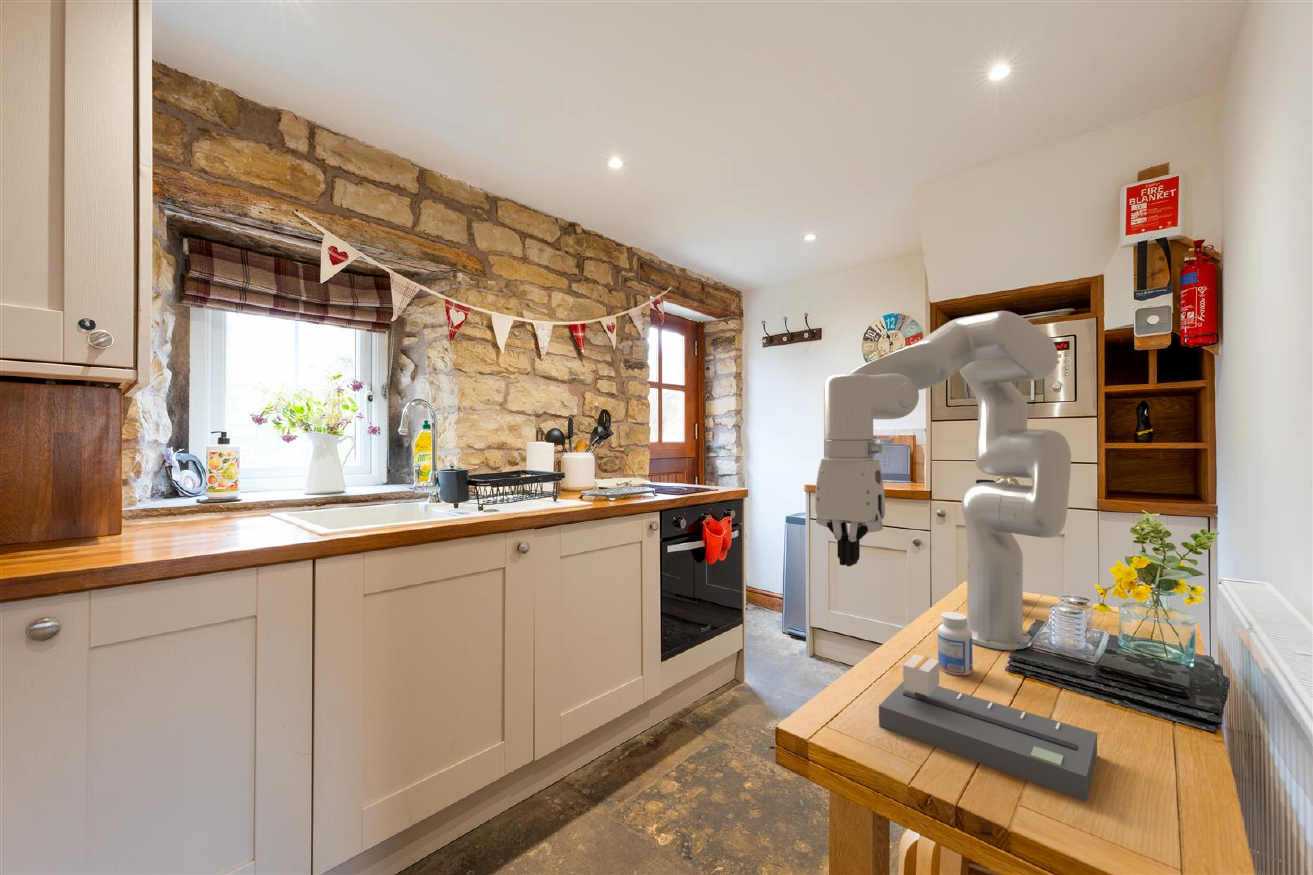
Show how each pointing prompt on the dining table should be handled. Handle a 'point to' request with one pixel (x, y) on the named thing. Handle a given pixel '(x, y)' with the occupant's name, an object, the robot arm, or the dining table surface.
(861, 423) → the robot arm
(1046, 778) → the console
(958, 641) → the pill bottle
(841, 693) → the dining table surface
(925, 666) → the fader
